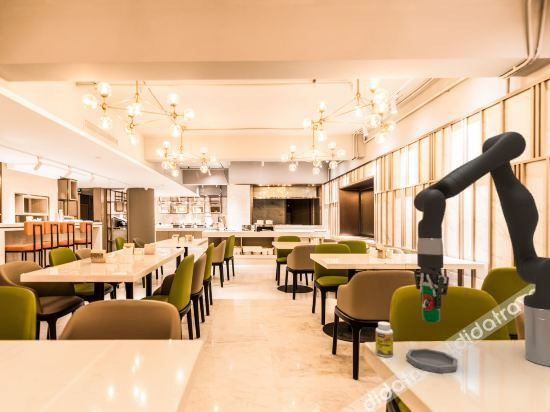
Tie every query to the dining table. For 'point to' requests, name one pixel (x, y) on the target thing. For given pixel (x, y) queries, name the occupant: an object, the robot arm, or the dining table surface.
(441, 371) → the dish
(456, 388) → the dining table surface
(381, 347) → the supplement bottle
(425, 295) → the soda can
